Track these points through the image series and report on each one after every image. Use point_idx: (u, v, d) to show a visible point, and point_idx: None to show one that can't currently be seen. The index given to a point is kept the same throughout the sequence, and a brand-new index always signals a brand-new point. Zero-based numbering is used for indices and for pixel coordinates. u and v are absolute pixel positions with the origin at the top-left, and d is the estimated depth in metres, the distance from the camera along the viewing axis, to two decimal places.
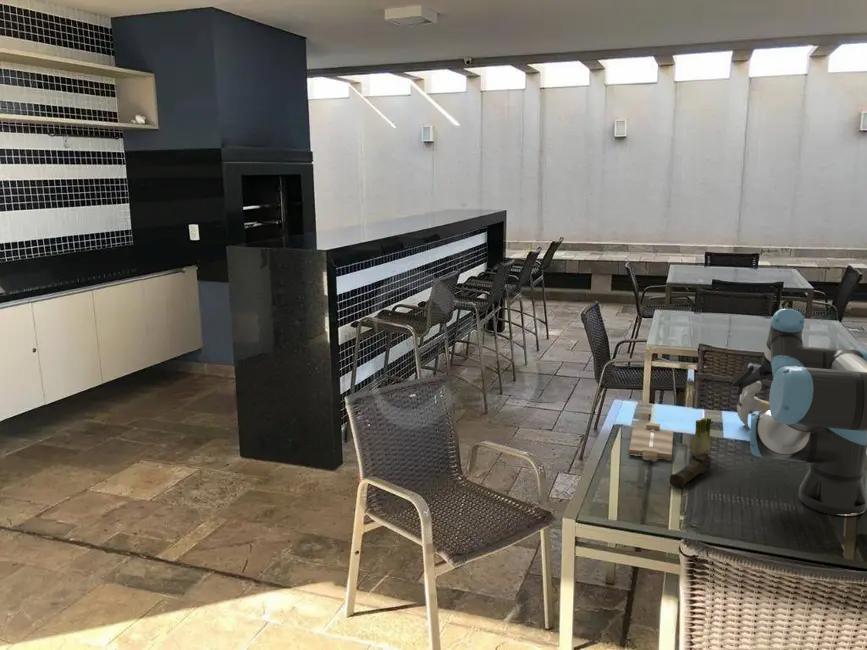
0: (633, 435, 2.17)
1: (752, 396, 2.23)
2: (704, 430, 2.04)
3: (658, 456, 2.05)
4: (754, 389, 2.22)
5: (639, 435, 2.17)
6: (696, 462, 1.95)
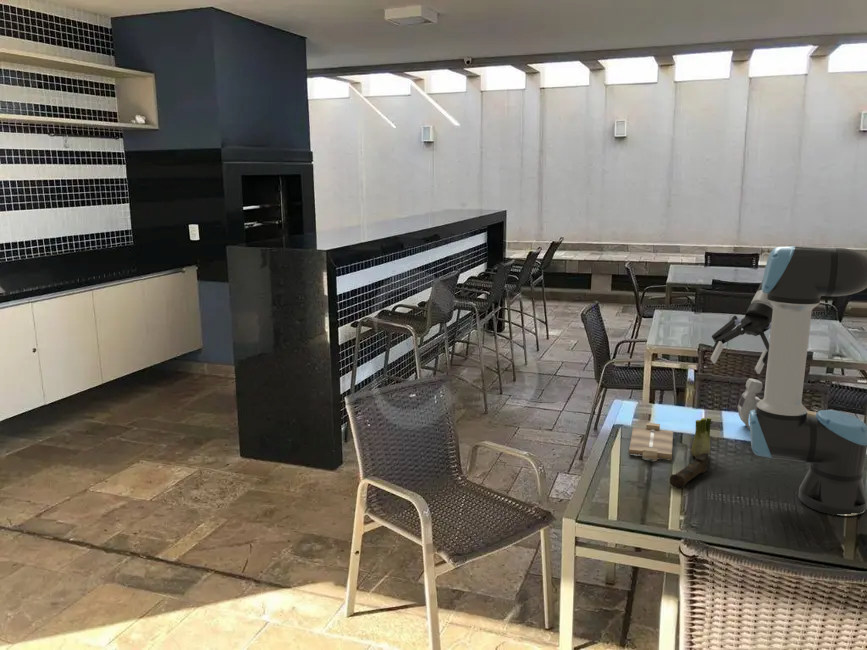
0: (633, 435, 2.17)
1: (753, 396, 2.23)
2: (704, 430, 2.04)
3: (658, 456, 2.05)
4: (755, 389, 2.22)
5: (639, 435, 2.17)
6: (696, 462, 1.95)
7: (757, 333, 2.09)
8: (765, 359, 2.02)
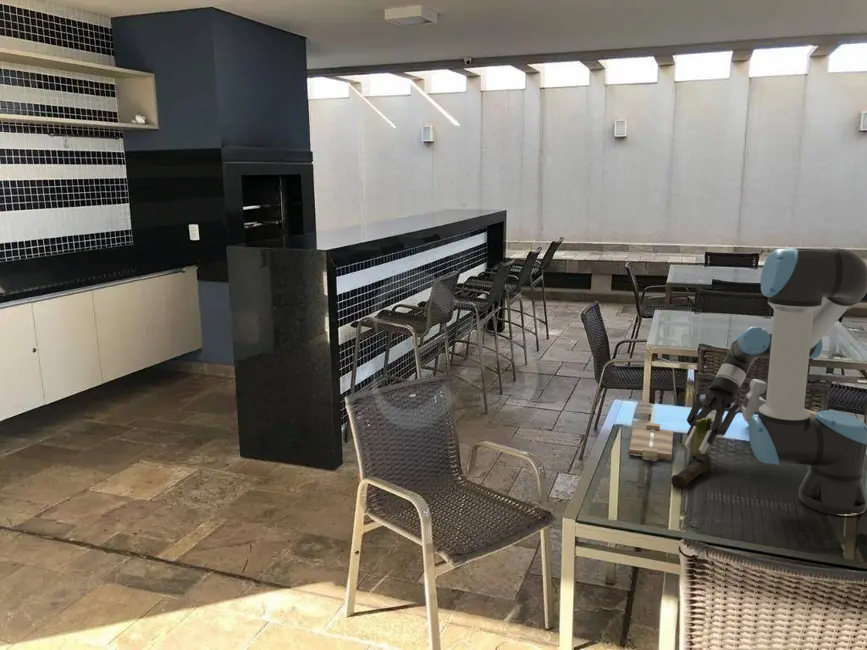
0: (633, 435, 2.17)
1: (757, 397, 2.23)
2: (704, 430, 2.04)
3: (658, 456, 2.05)
4: (759, 390, 2.21)
5: (639, 435, 2.17)
6: (697, 462, 1.94)
7: None
8: (709, 440, 2.01)
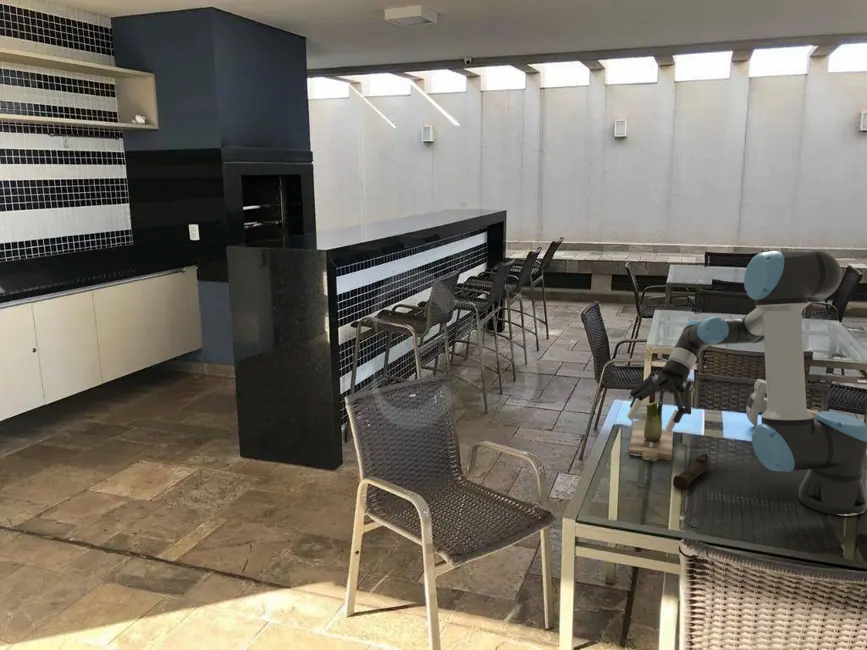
0: (633, 435, 2.17)
1: (762, 397, 2.22)
2: (655, 414, 2.11)
3: (658, 456, 2.05)
4: (764, 390, 2.21)
5: (639, 435, 2.17)
6: (697, 463, 1.94)
7: (672, 391, 2.12)
8: (676, 419, 2.05)
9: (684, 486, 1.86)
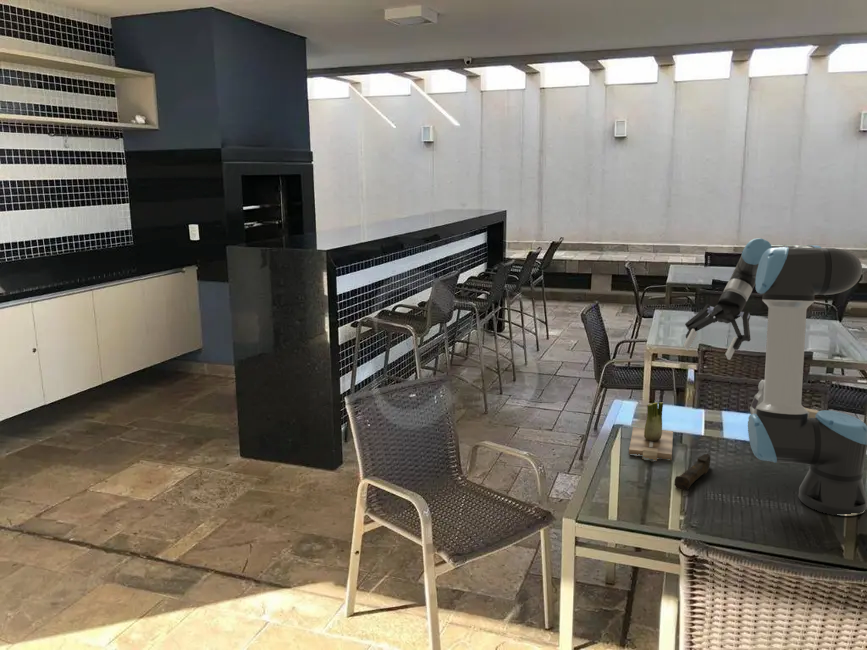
0: (633, 435, 2.17)
1: None
2: (656, 414, 2.11)
3: (658, 456, 2.05)
4: None
5: (639, 435, 2.17)
6: (699, 463, 1.94)
7: (728, 320, 2.15)
8: (735, 345, 2.08)
9: (686, 487, 1.85)
